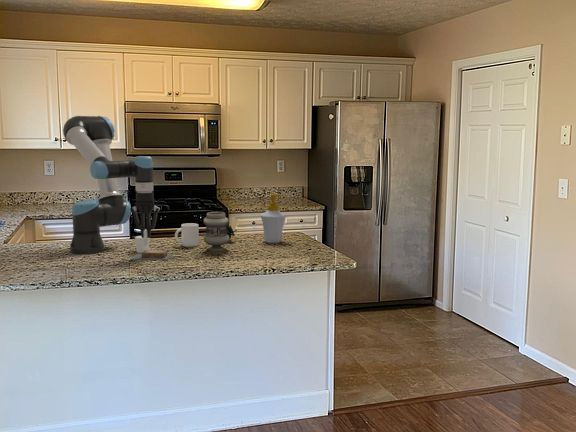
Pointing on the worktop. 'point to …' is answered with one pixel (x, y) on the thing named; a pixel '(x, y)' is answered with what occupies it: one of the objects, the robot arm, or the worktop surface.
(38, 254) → the worktop surface
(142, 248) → the white cup
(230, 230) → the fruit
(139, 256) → the rubber mat
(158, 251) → the walnut slab
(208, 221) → the apothecary jar
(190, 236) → the mug
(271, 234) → the soap bottle
